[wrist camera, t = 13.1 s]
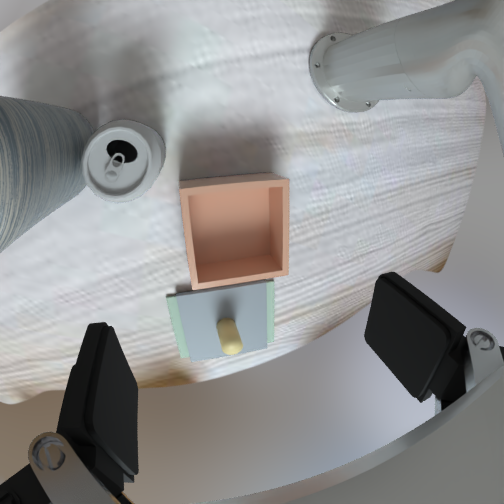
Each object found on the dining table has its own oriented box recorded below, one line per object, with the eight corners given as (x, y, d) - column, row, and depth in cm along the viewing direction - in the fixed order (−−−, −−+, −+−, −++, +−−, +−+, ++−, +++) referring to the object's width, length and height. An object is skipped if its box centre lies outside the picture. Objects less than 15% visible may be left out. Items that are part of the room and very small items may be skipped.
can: (176, 137, 31) (175, 136, 20) (151, 193, 33) (140, 220, 22) (122, 116, 28) (95, 106, 18) (99, 173, 30) (64, 190, 19)
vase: (40, 104, 24) (-84, 92, 3) (115, 118, 28) (19, 94, 8) (21, 189, 27) (-95, 257, 7) (90, 207, 31) (-1, 306, 11)
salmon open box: (271, 172, 36) (289, 179, 31) (273, 256, 41) (288, 274, 35) (178, 180, 33) (179, 189, 28) (189, 268, 38) (192, 290, 33)
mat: (273, 280, 42) (274, 281, 42) (273, 340, 47) (273, 341, 47) (166, 296, 39) (166, 298, 39) (181, 356, 44) (181, 358, 43)
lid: (264, 279, 41) (277, 300, 36) (265, 345, 47) (276, 368, 42) (176, 293, 39) (177, 317, 34) (190, 358, 44) (194, 383, 39)
